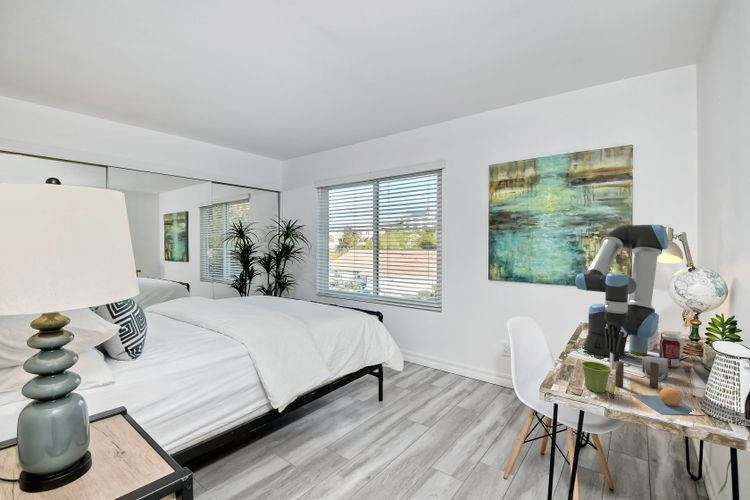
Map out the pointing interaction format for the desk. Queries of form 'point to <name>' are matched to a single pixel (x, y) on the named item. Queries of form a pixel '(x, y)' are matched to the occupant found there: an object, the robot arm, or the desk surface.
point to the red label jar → (680, 340)
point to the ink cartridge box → (653, 341)
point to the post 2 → (654, 375)
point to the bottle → (638, 345)
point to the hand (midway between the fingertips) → (614, 368)
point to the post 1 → (619, 374)
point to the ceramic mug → (662, 366)
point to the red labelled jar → (670, 351)
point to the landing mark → (664, 405)
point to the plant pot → (596, 375)
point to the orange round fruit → (670, 397)
